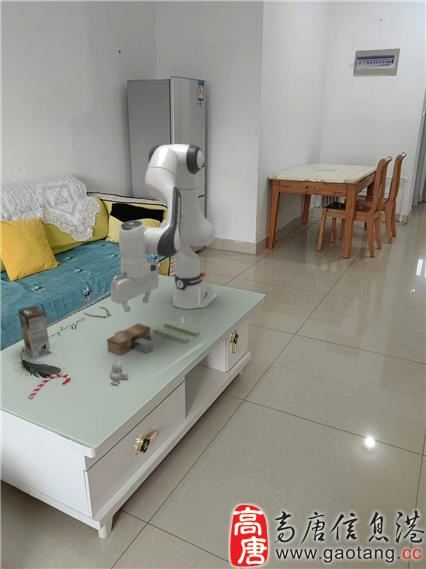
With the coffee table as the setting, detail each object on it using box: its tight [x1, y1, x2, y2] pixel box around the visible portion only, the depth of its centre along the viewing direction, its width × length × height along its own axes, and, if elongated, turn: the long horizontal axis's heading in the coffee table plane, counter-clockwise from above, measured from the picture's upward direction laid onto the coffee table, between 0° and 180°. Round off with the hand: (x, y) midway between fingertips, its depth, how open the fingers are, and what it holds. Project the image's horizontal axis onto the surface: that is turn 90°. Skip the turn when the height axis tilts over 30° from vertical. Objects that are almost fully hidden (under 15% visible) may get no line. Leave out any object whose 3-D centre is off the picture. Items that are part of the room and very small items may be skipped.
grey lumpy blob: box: [109, 358, 129, 383], centre depth 139 cm, size 5×7×8 cm
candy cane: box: [28, 373, 71, 400], centre depth 137 cm, size 8×1×15 cm
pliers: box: [83, 306, 112, 319], centre depth 190 cm, size 10×1×20 cm
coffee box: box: [18, 305, 51, 359], centre depth 156 cm, size 9×6×16 cm
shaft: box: [114, 330, 154, 354], centre depth 159 cm, size 3×16×3 cm, turn 55°
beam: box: [106, 322, 152, 356], centre depth 160 cm, size 16×6×6 cm, turn 146°
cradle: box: [152, 321, 200, 344], centre depth 169 cm, size 8×16×3 cm, turn 56°
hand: (136, 306), depth 153 cm, fingers open, 8 cm apart
